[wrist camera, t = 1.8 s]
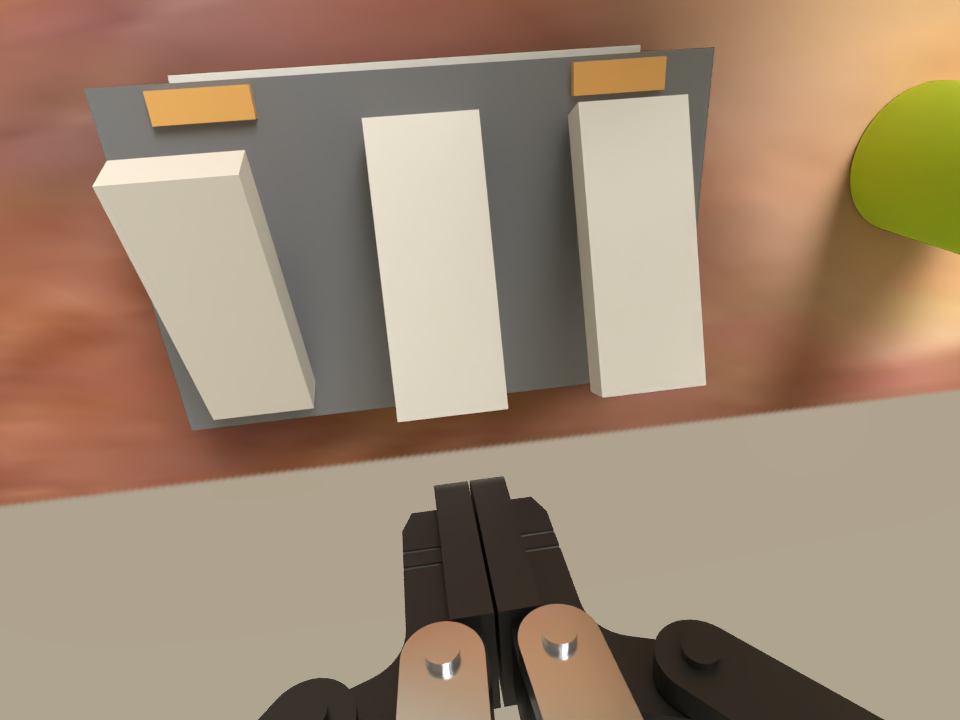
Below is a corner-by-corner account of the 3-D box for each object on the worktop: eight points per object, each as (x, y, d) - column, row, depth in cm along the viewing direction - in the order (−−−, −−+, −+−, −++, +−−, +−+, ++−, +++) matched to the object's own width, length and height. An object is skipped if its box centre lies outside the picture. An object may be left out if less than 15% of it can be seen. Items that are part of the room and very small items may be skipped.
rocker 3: (670, 107, 19) (688, 94, 17) (688, 379, 19) (706, 385, 18) (567, 115, 18) (578, 102, 17) (590, 391, 19) (602, 397, 18)
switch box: (661, 44, 22) (739, 37, 17) (643, 331, 27) (699, 390, 22) (136, 78, 20) (55, 82, 15) (219, 378, 25) (179, 453, 20)
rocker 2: (474, 122, 18) (478, 109, 17) (502, 402, 19) (508, 408, 18) (365, 130, 18) (361, 118, 16) (398, 414, 19) (397, 422, 17)
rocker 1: (245, 149, 15) (238, 174, 14) (315, 381, 21) (314, 408, 20) (107, 160, 15) (92, 186, 14) (219, 392, 21) (213, 419, 20)
